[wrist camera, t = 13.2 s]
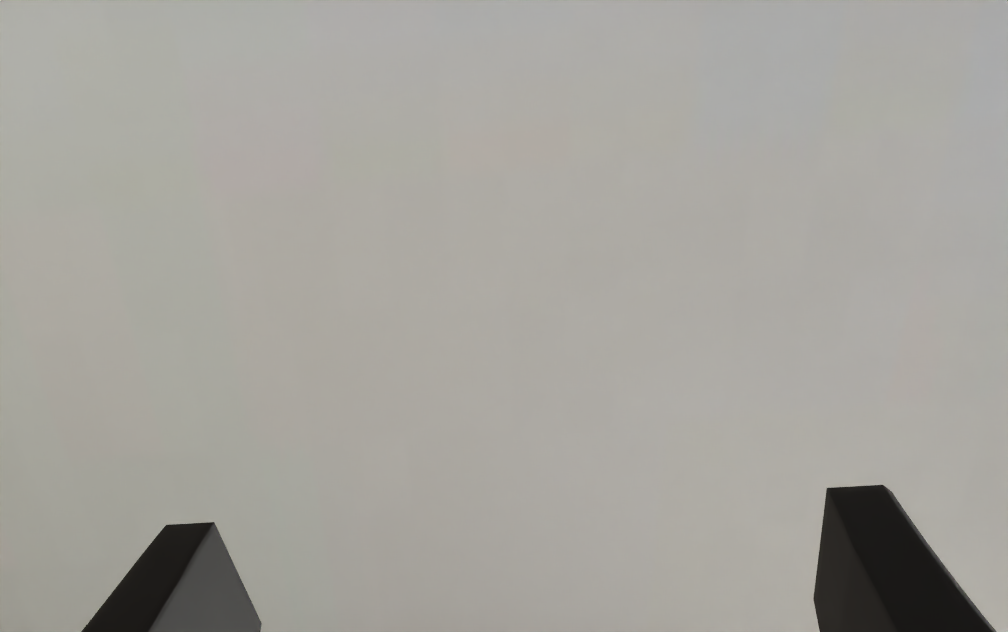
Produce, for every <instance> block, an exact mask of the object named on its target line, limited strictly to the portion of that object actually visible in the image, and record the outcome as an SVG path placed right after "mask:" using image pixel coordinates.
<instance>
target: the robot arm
mask: <svg viewBox="0 0 1008 632" xmlns="http://www.w3.org/2000/svg"><path fill="white" fill-rule="evenodd" d="M814 603H815V609H816V614H817V619H818V624H819V629H820V632H996V631H995V629H994V628H993V627H992V626H991V625H990V623H989V622H988V621H987V620H986V619H985V617H984V616H983V615H982V614H981V612H980V611H979V610H978V609H977V607H976V606H975V605H974V603H973V602H972V601H971V600H970V598H969V597H968V596H967V595H966V593H965V592H964V591H963V589H962V588H961V587H960V586H959V584H958V583H957V582H956V580H955V579H954V578H953V576H952V575H951V574H950V572H949V571H948V570H947V569H946V567H945V566H944V565H943V563H942V562H941V561H940V559H939V558H938V557H937V555H936V554H935V553H934V551H933V550H932V548H931V547H930V546H929V544H928V543H927V542H926V540H925V539H924V538H923V536H922V535H921V533H920V532H919V531H918V529H917V528H916V526H915V525H914V524H913V522H912V521H911V519H910V518H909V516H908V515H907V514H906V512H905V511H904V509H903V508H902V506H901V505H900V503H899V502H898V500H897V499H896V497H895V496H894V495H893V493H892V492H891V491H890V490H889V489H887V488H886V487H885V486H884V485H874V486H856V487H838V488H827V492H826V501H825V509H824V517H823V525H822V534H821V542H820V550H819V559H818V567H817V575H816V583H815V592H814ZM260 630H261V621H260V619H259V617H258V615H257V613H256V610H255V608H254V606H253V604H252V602H251V600H250V598H249V596H248V593H247V591H246V589H245V587H244V585H243V583H242V581H241V579H240V576H239V574H238V572H237V570H236V568H235V566H234V564H233V561H232V559H231V557H230V555H229V553H228V551H227V549H226V547H225V544H224V542H223V540H222V538H221V536H220V534H219V532H218V530H217V527H216V525H215V523H214V522H212V523H194V524H176V525H166V526H165V527H164V528H163V529H162V531H161V532H160V533H159V534H158V535H157V537H156V538H155V539H154V540H153V542H152V543H151V544H150V545H149V547H148V548H147V549H146V550H145V552H144V553H143V554H142V555H141V557H140V558H139V559H138V560H137V562H136V563H135V564H134V566H133V567H132V568H131V569H130V571H129V572H128V573H127V574H126V576H125V577H124V578H123V580H122V581H121V582H120V583H119V585H118V586H117V587H116V589H115V590H114V591H113V592H112V594H111V595H110V596H109V597H108V599H107V600H106V601H105V603H104V604H103V605H102V606H101V608H100V609H99V610H98V611H97V613H96V614H95V615H94V616H93V618H92V619H91V620H90V622H89V623H88V624H87V625H86V627H85V628H84V629H83V630H82V632H260Z"/></svg>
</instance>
